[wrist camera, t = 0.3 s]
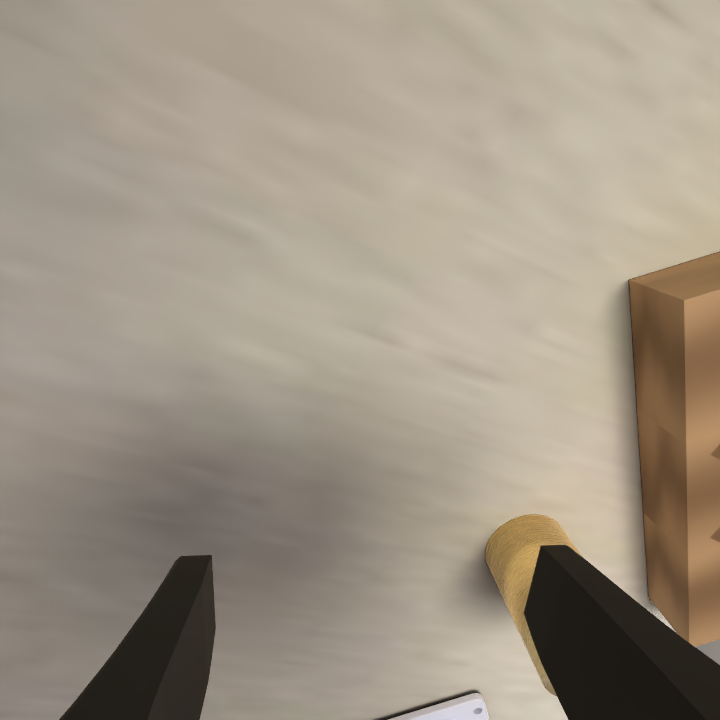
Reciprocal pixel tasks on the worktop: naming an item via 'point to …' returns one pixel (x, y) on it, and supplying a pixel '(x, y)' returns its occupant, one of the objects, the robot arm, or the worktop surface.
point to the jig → (680, 440)
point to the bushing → (522, 569)
